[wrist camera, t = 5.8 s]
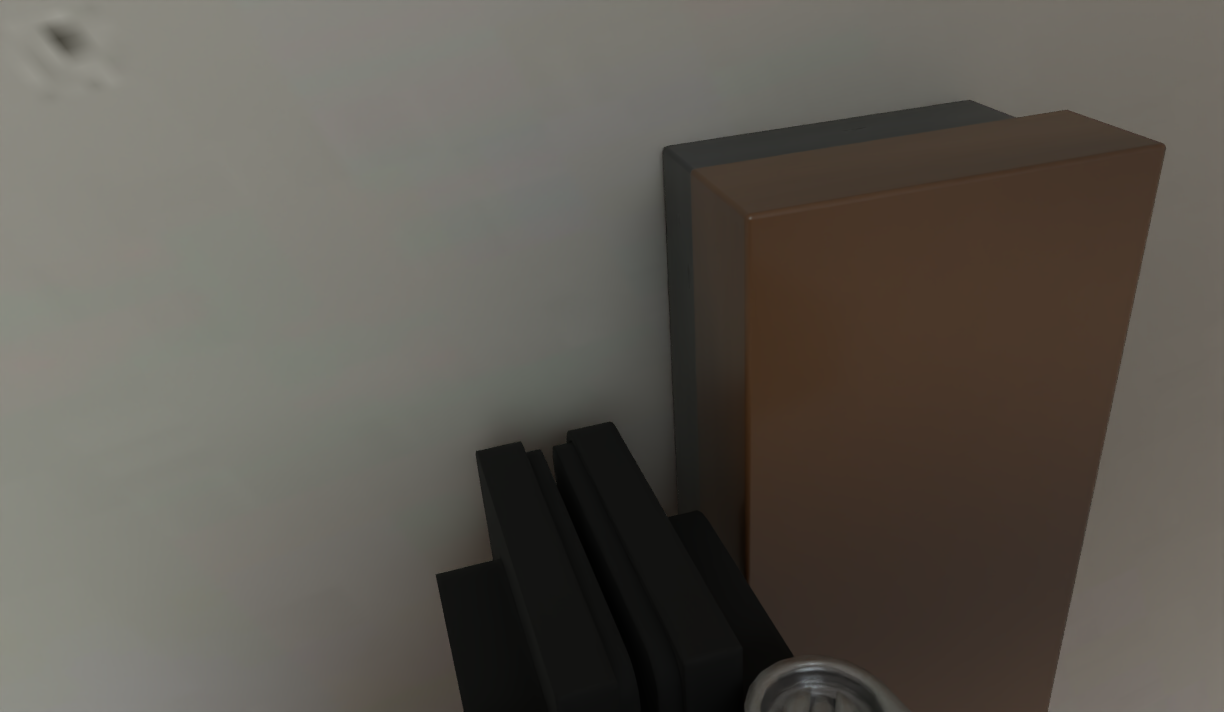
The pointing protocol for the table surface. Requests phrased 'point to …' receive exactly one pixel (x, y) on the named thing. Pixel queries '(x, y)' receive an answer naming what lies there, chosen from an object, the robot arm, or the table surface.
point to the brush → (906, 378)
